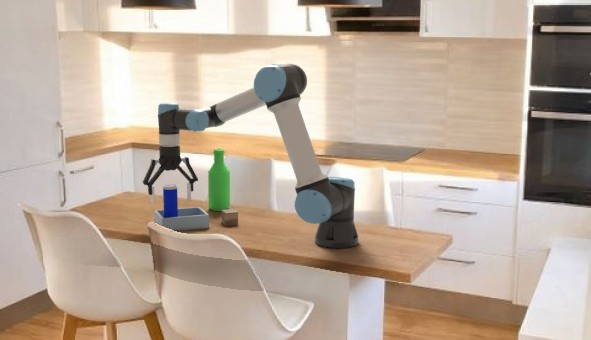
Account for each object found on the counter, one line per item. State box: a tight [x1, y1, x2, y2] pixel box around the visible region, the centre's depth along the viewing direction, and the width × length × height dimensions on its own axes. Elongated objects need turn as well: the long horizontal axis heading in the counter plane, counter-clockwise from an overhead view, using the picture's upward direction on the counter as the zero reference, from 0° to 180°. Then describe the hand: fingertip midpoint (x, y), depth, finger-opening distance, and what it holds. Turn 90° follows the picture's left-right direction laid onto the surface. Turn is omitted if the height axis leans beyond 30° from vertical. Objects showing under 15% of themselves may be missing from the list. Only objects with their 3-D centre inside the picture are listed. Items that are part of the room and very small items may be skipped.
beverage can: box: [162, 183, 179, 218], centre depth 278 cm, size 5×5×15 cm
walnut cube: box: [221, 208, 239, 227], centre depth 285 cm, size 5×5×5 cm
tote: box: [153, 206, 210, 232], centre depth 281 cm, size 14×18×5 cm
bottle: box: [207, 148, 231, 212], centre depth 306 cm, size 9×9×25 cm
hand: (171, 201), depth 278 cm, fingers open, 13 cm apart
